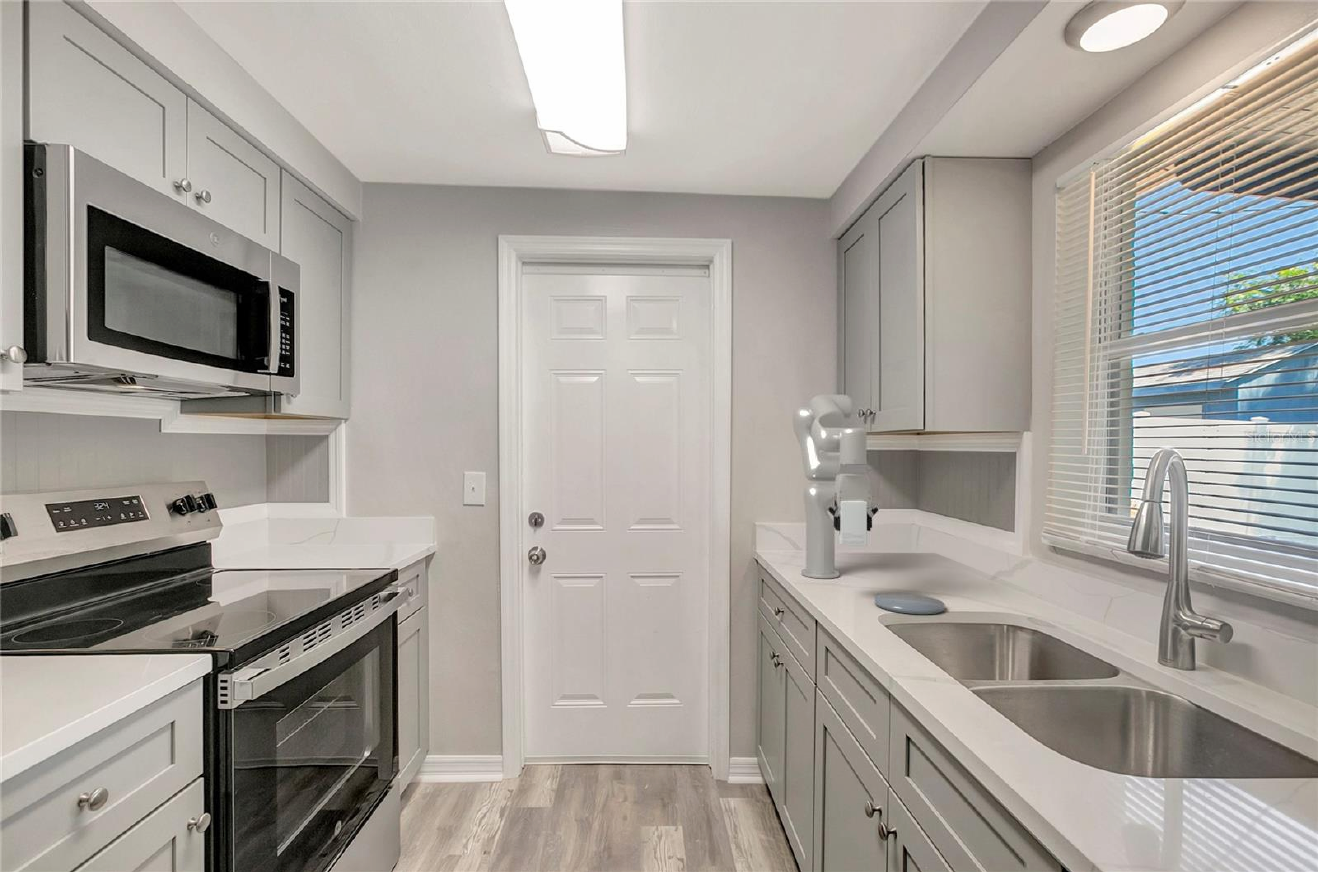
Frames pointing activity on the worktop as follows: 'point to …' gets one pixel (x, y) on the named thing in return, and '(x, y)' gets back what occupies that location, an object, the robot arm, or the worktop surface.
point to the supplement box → (853, 523)
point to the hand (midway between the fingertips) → (852, 530)
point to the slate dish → (909, 603)
